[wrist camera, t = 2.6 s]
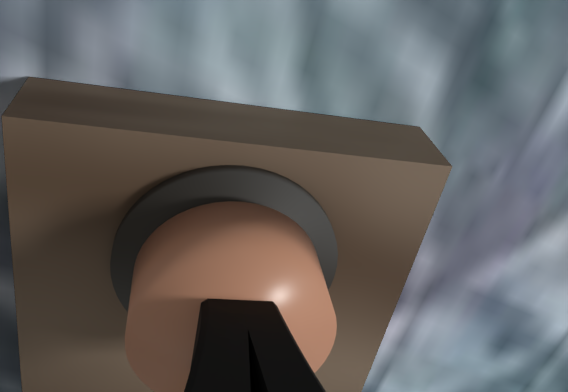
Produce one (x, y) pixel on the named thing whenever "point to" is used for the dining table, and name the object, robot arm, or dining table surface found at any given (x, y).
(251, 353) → the robot arm
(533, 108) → the dining table surface
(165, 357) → the button terracotta
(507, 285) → the dining table surface
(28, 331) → the button panel
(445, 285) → the dining table surface
